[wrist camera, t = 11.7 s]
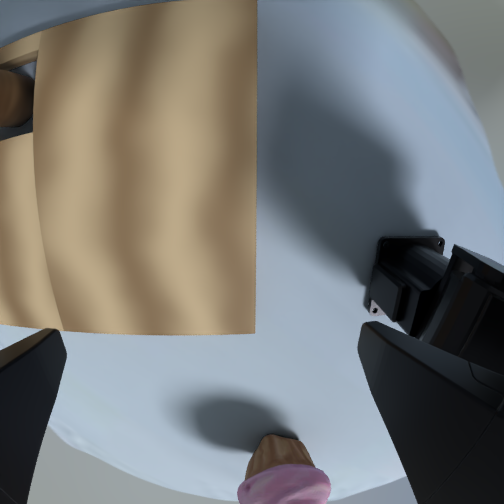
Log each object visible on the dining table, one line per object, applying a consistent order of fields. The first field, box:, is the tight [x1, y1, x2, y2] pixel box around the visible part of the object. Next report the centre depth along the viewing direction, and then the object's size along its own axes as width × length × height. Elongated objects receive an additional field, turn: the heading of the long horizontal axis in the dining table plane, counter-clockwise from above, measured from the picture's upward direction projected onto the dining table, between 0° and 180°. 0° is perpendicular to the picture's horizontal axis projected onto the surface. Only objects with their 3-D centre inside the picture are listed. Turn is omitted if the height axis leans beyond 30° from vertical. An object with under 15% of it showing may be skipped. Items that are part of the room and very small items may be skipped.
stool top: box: [0, 0, 257, 335], centre depth 17 cm, size 22×22×2 cm
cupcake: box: [237, 434, 331, 504], centre depth 24 cm, size 9×9×10 cm
